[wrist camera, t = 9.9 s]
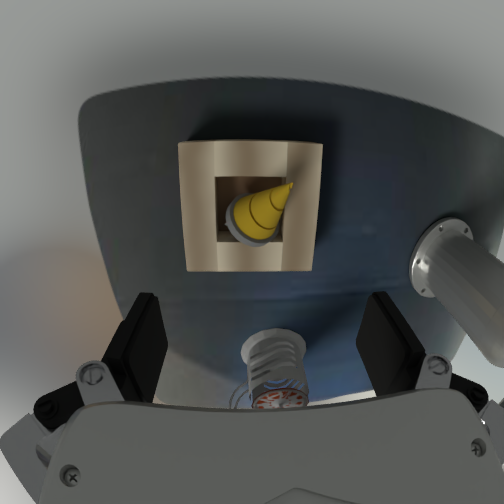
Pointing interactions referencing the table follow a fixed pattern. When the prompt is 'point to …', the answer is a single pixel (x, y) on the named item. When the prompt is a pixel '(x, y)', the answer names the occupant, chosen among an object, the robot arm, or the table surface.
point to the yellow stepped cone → (257, 215)
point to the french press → (274, 369)
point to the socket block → (248, 181)
